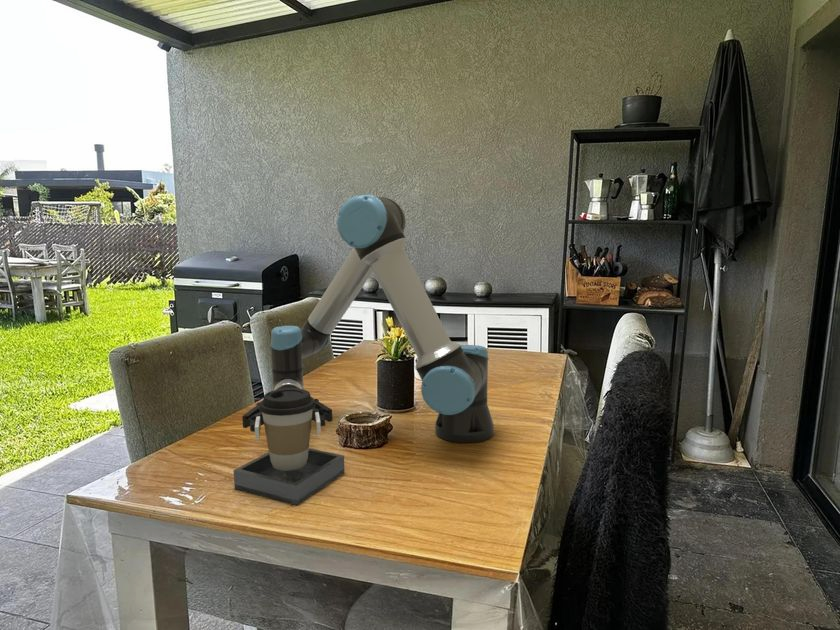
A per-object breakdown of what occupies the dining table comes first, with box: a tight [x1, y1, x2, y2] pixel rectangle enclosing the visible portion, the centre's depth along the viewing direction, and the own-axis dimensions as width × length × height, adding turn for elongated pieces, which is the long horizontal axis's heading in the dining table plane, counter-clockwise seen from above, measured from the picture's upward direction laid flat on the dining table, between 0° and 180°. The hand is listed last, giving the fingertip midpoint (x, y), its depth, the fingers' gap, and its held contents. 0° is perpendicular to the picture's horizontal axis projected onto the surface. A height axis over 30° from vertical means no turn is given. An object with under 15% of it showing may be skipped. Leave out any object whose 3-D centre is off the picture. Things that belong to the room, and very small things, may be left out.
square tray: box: [233, 447, 345, 506], centre depth 117 cm, size 16×16×4 cm
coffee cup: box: [259, 388, 315, 471], centre depth 115 cm, size 11×11×15 cm
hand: (288, 431), depth 111 cm, fingers closed on coffee cup, 11 cm apart
